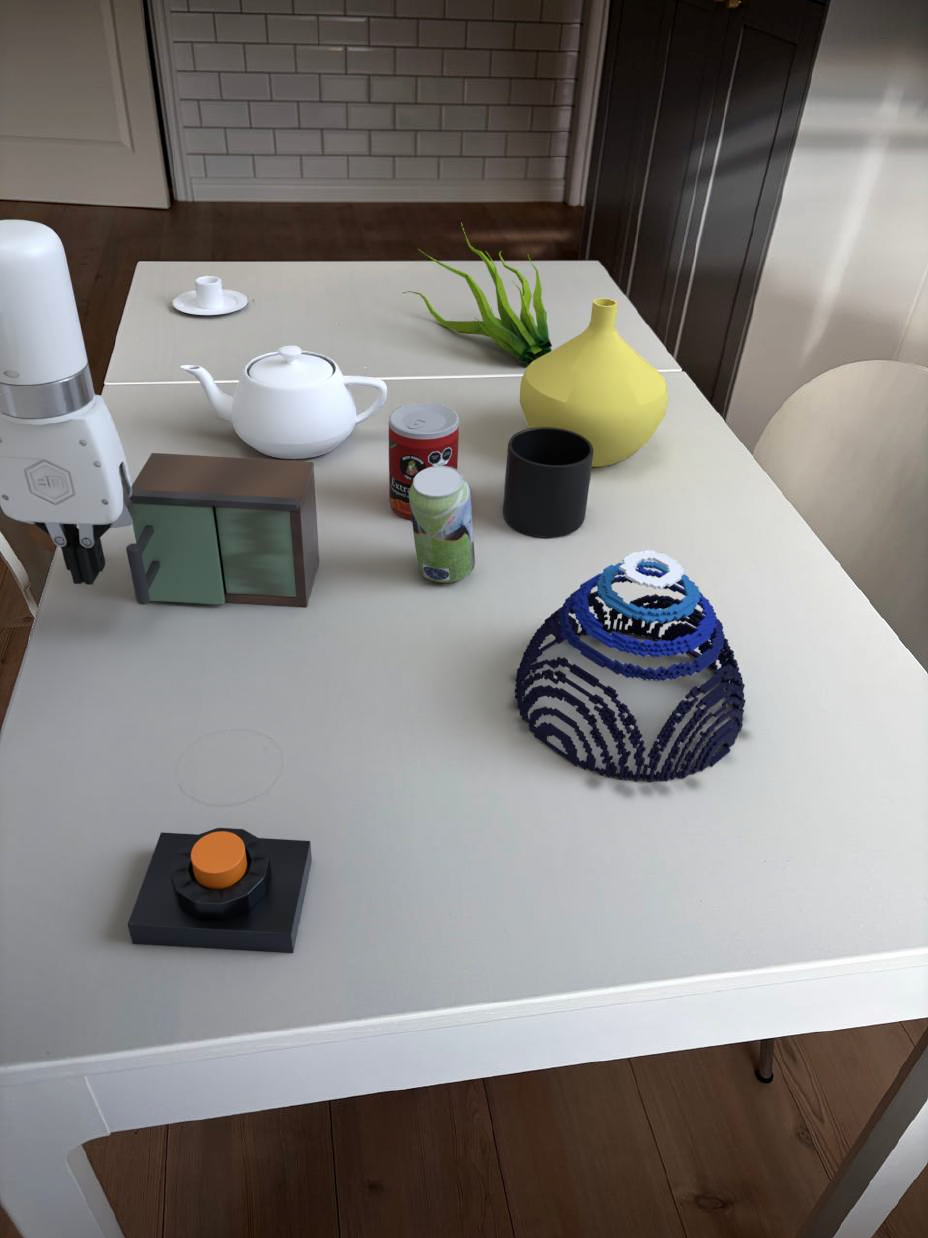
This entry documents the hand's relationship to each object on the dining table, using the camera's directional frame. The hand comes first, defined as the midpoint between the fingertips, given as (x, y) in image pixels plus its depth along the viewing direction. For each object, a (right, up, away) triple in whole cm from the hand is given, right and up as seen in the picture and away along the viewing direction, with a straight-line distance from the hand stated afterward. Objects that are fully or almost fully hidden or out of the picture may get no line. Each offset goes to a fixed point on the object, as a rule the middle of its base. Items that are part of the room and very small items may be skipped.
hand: (88, 575), depth 90 cm
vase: (+50, +18, +38) cm, 65 cm away
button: (+17, -21, -22) cm, 35 cm away
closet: (+11, 0, +12) cm, 16 cm away
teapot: (+12, +19, +36) cm, 42 cm away
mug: (+43, +8, +25) cm, 51 cm away
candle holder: (-7, +47, +72) cm, 86 cm away
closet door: (+7, -4, +5) cm, 9 cm away
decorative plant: (+35, +40, +66) cm, 85 cm away
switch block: (+17, -24, -20) cm, 35 cm away
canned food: (+29, +9, +25) cm, 40 cm away
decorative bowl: (+49, -11, -1) cm, 50 cm away
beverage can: (+32, 0, +14) cm, 35 cm away
